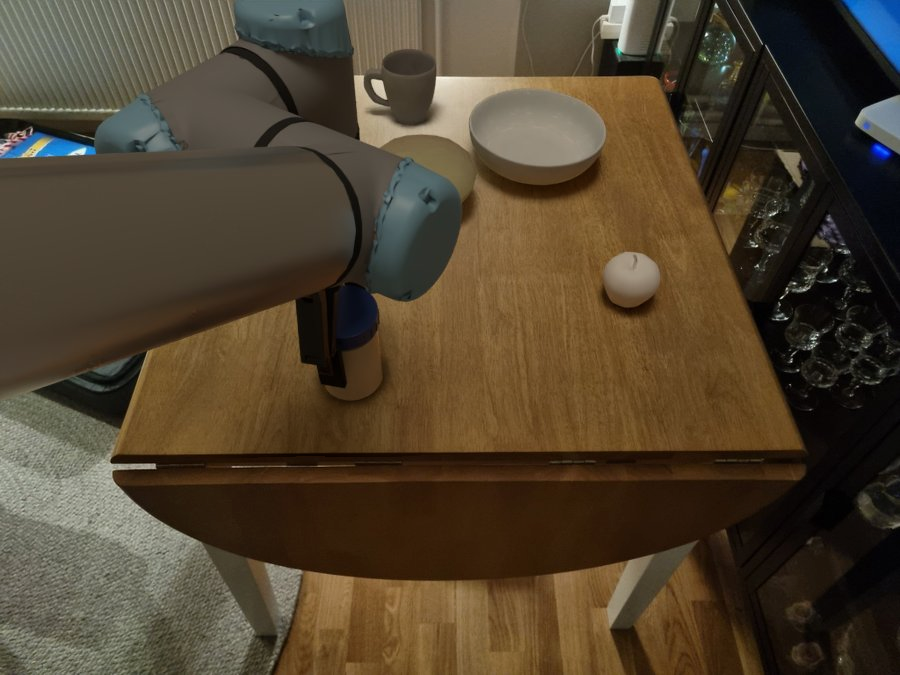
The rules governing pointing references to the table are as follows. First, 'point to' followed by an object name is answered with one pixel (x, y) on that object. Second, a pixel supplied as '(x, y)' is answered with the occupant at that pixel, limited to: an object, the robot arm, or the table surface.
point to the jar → (360, 371)
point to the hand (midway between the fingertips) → (348, 347)
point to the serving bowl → (536, 135)
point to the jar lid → (356, 317)
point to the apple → (631, 279)
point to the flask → (438, 158)
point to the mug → (405, 84)
